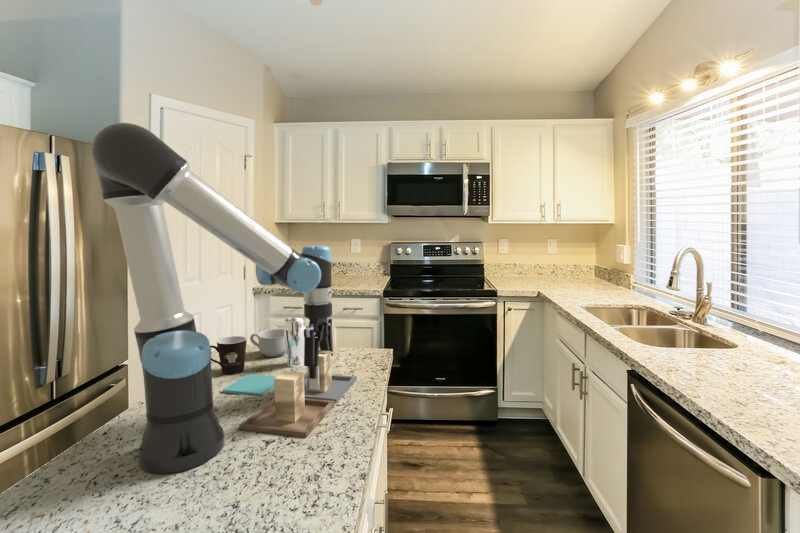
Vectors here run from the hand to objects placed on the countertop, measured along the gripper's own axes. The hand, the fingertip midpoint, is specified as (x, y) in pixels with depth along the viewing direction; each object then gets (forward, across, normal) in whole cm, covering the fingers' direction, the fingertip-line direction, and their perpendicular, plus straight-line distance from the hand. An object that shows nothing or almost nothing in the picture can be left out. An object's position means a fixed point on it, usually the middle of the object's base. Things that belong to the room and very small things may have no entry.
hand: (320, 383), depth 111 cm
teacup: (+2, +25, +30) cm, 39 cm away
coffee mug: (+2, +7, +34) cm, 35 cm away
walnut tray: (+1, -17, 0) cm, 17 cm away
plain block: (+1, -17, 0) cm, 17 cm away
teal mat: (+1, -2, +19) cm, 19 cm away
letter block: (+1, 0, 0) cm, 1 cm away
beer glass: (+2, +17, +16) cm, 23 cm away
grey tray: (+1, 0, 0) cm, 1 cm away
